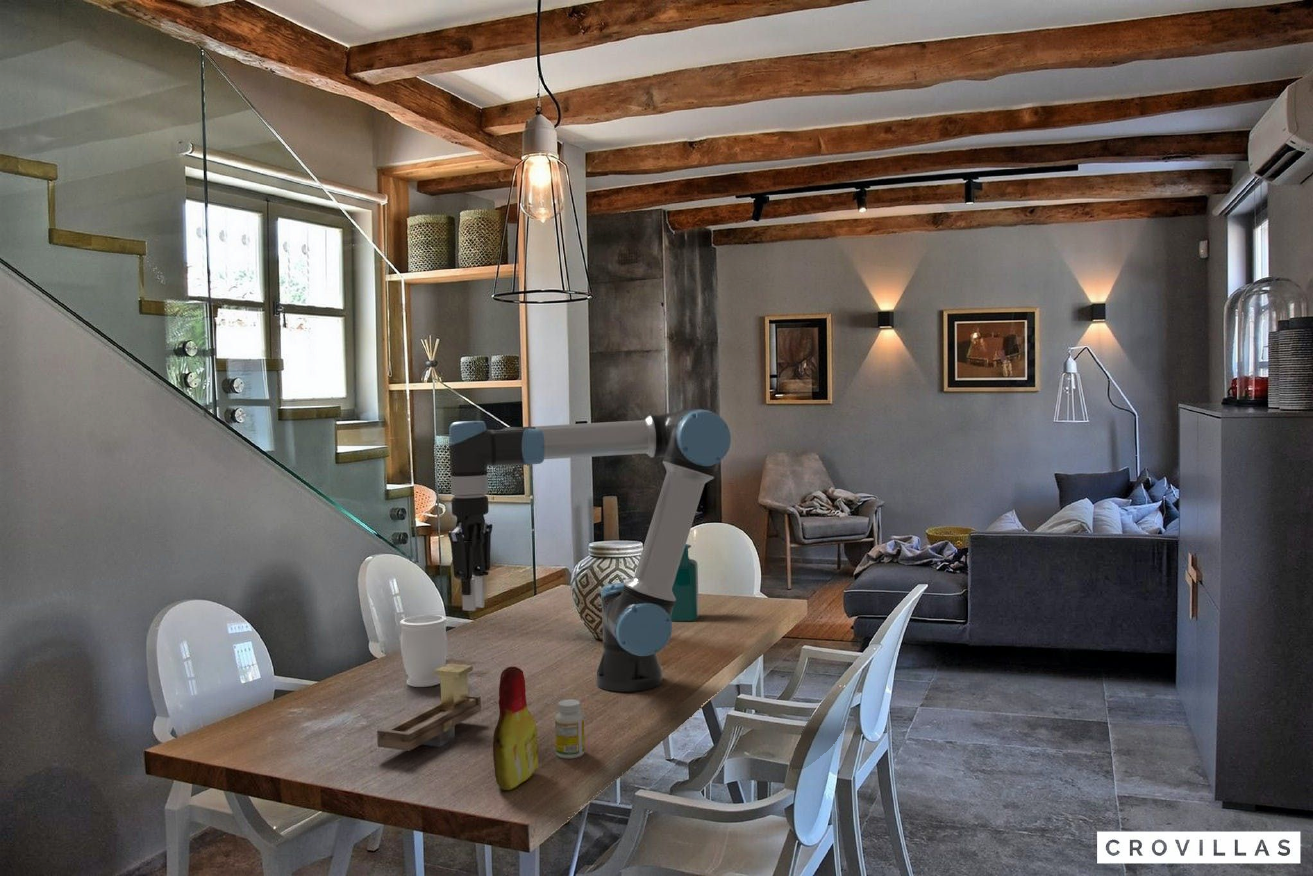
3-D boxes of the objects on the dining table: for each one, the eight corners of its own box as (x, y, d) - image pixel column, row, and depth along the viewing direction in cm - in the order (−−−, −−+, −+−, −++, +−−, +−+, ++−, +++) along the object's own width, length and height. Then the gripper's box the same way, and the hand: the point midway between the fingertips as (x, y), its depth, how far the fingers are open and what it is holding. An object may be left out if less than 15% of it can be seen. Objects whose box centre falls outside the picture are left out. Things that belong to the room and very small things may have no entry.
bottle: (516, 797, 165) (512, 677, 164) (482, 793, 167) (477, 675, 166) (546, 770, 176) (542, 658, 175) (513, 767, 178) (509, 656, 177)
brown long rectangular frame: (451, 719, 206) (450, 693, 206) (482, 723, 203) (481, 696, 203) (377, 759, 184) (376, 730, 184) (410, 764, 181) (409, 734, 181)
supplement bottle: (570, 761, 180) (568, 709, 180) (549, 755, 184) (548, 703, 183) (591, 752, 185) (589, 701, 184) (570, 746, 188) (569, 696, 188)
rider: (450, 702, 204) (448, 663, 204) (473, 704, 202) (472, 665, 202) (436, 709, 199) (434, 670, 199) (459, 712, 197) (458, 672, 197)
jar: (456, 678, 237) (454, 615, 236) (433, 690, 227) (430, 625, 226) (418, 675, 240) (415, 613, 239) (393, 687, 230) (390, 623, 230)
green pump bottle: (671, 615, 298) (669, 541, 297) (699, 615, 296) (697, 541, 295) (667, 622, 288) (665, 547, 287) (696, 622, 287) (694, 546, 286)
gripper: (474, 491, 215) (478, 600, 216) (432, 499, 200) (436, 615, 201) (505, 492, 212) (508, 601, 213) (464, 500, 198) (468, 617, 199)
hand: (473, 608), depth 207 cm, fingers open, 3 cm apart
